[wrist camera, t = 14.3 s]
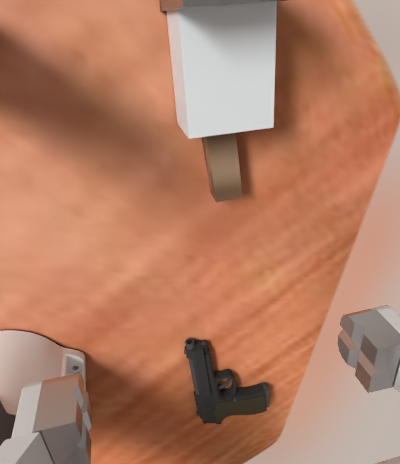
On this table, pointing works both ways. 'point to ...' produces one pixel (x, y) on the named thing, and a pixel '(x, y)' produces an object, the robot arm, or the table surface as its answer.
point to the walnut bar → (223, 166)
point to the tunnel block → (223, 67)
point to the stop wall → (204, 3)
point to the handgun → (213, 396)
